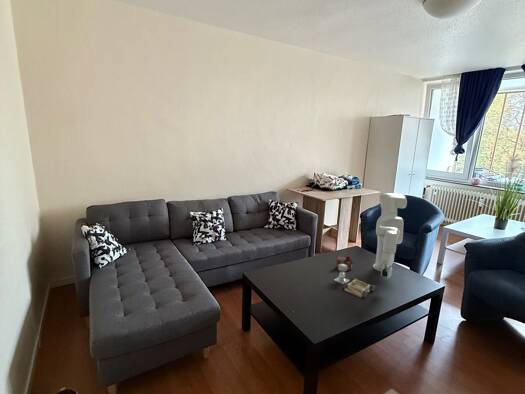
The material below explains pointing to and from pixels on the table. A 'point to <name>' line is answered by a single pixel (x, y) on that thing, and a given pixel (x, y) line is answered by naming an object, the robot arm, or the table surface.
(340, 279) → the grey square pedestal base
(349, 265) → the toy fire truck
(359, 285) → the birch chassis
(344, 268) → the wheel hub
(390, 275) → the block
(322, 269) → the table surface
